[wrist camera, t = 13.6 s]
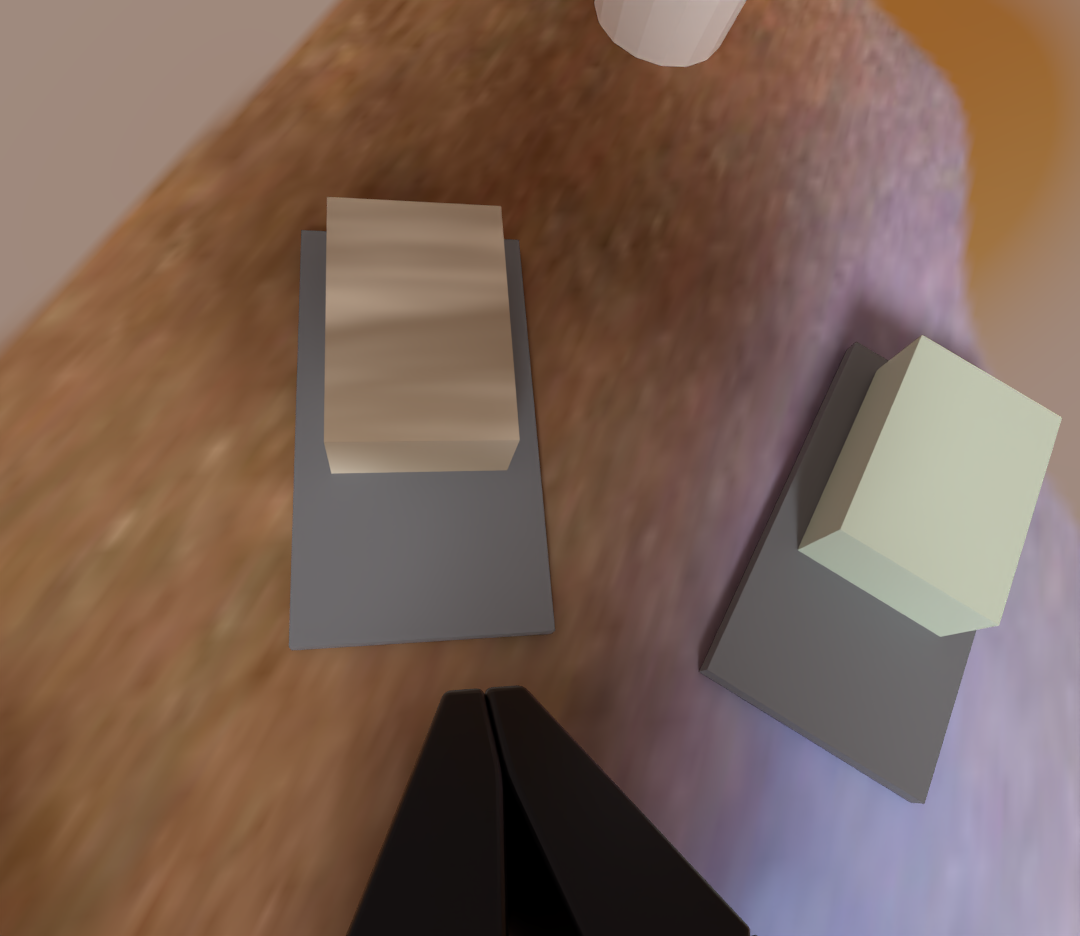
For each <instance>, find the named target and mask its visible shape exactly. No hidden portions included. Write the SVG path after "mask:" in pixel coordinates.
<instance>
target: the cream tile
mask: <svg viewBox="0 0 1080 936" xmlns="http://www.w3.org/2000/svg"><path fill="white" fill-rule="evenodd" d="M519 441H520V437H519V425H518V412H517V399H516V387H515V374H514V362H513V349H512V337H511V324H510V312H509V299H508V286H507V274H506V261H505V249H504V236H503V224H502V211H501V206H489V205H470V204H451V203H432V202H414V201H395V200H376V199H357V198H338V197H327V242H326V319H325V396H324V445H325V449H326V453H327V457H328V461H329V466H330V470H331V474H333V473H387V472H442V471H496V470H507V469H508V467H509V464H510V462H511V460H512V457H513V455H514V453H515V450H516V448H517V445H518V443H519Z"/></svg>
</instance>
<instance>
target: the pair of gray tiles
mask: <svg viewBox="0 0 1080 936" xmlns="http://www.w3.org/2000/svg"><path fill="white" fill-rule="evenodd" d="M326 242H327V231H307V230H301V262H300V295H299V328H298V362H297V395H296V428H295V462H294V495H293V528H292V562H291V595H290V628H289V648H290V649H291V650H304V649H320V648H336V647H352V646H367V645H383V644H399V643H415V642H431V641H446V640H462V639H478V638H494V637H510V636H525V635H541V634H551V633H553V632H554V631H555V625H554V614H553V603H552V592H551V581H550V571H549V560H548V549H547V538H546V528H545V517H544V506H543V495H542V484H541V474H540V463H539V452H538V441H537V430H536V420H535V409H534V398H533V387H532V376H531V366H530V355H529V344H528V333H527V322H526V312H525V301H524V290H523V279H522V268H521V258H520V247H519V240H510V239H504V249H505V261H506V274H507V286H508V299H509V312H510V324H511V337H512V349H513V362H514V374H515V387H516V399H517V412H518V425H519V437H520V441H519V443H518V445H517V448H516V450H515V453H514V455H513V457H512V460H511V462H510V464H509V467H508V469H507V470H496V471H442V472H387V473H333V474H331V470H330V466H329V461H328V457H327V453H326V449H325V445H324V396H325V319H326ZM887 362H888V360H886V359H885V358H883V357H881V356H879V355H878V354H876V353H874V352H873V351H871V350H869V349H868V348H866V347H864V346H863V345H861V344H859V343H858V342H855V343H854V344H853V345H852V346H851V347H850V348H849V349H847V351H846V353H845V355H844V357H843V359H842V361H841V364H840V366H839V368H838V370H837V372H836V375H835V377H834V379H833V381H832V383H831V385H830V388H829V390H828V392H827V394H826V396H825V398H824V401H823V403H822V405H821V407H820V409H819V412H818V414H817V416H816V418H815V420H814V422H813V425H812V427H811V429H810V431H809V433H808V436H807V438H806V440H805V442H804V444H803V446H802V449H801V451H800V453H799V455H798V457H797V459H796V462H795V464H794V466H793V468H792V470H791V473H790V475H789V477H788V479H787V481H786V483H785V486H784V488H783V490H782V492H781V494H780V497H779V499H778V501H777V503H776V505H775V507H774V510H773V512H772V514H771V516H770V518H769V520H768V523H767V525H766V527H765V529H764V531H763V534H762V536H761V538H760V540H759V542H758V544H757V547H756V549H755V551H754V553H753V555H752V558H751V560H750V562H749V564H748V566H747V568H746V571H745V573H744V575H743V577H742V579H741V581H740V584H739V586H738V588H737V590H736V592H735V595H734V597H733V599H732V601H731V603H730V605H729V608H728V610H727V612H726V614H725V616H724V619H723V621H722V623H721V625H720V627H719V629H718V632H717V634H716V636H715V638H714V640H713V643H712V645H711V647H710V649H709V651H708V653H707V656H706V658H705V660H704V662H703V664H702V666H701V669H700V671H699V672H700V673H702V674H704V675H705V676H707V677H708V678H710V679H712V680H713V681H715V682H716V683H718V684H720V685H721V686H723V687H725V688H726V689H728V690H729V691H731V692H733V693H734V694H736V695H737V696H739V697H741V698H742V699H744V700H746V701H747V702H749V703H750V704H752V705H754V706H755V707H757V708H759V709H760V710H762V711H763V712H765V713H767V714H768V715H770V716H771V717H773V718H775V719H776V720H778V721H780V722H781V723H783V724H784V725H786V726H788V727H789V728H791V729H792V730H794V731H796V732H797V733H799V734H801V735H802V736H804V737H805V738H807V739H809V740H810V741H812V742H814V743H815V744H817V745H818V746H820V747H822V748H823V749H825V750H826V751H828V752H830V753H831V754H833V755H835V756H836V757H838V758H839V759H841V760H843V761H844V762H846V763H848V764H849V765H851V766H852V767H854V768H856V769H857V770H859V771H860V772H862V773H864V774H865V775H867V776H869V777H870V778H872V779H873V780H875V781H877V782H878V783H880V784H881V785H883V786H885V787H886V788H888V789H890V790H891V791H893V792H894V793H896V794H898V795H899V796H901V797H903V798H904V799H906V800H907V801H909V802H911V803H922V804H924V803H925V800H926V797H927V793H928V790H929V787H930V783H931V780H932V777H933V773H934V770H935V767H936V763H937V760H938V757H939V753H940V750H941V746H942V743H943V740H944V736H945V733H946V730H947V726H948V723H949V720H950V716H951V713H952V710H953V706H954V703H955V700H956V696H957V693H958V690H959V686H960V683H961V679H962V676H963V673H964V669H965V666H966V663H967V659H968V656H969V653H970V649H971V646H972V643H973V639H974V636H975V633H976V630H973V631H968V632H963V633H957V634H952V635H947V636H942V637H940V636H938V635H936V634H935V633H933V632H932V631H930V630H928V629H927V628H925V627H923V626H922V625H920V624H918V623H917V622H915V621H913V620H912V619H910V618H908V617H907V616H905V615H904V614H902V613H900V612H899V611H897V610H895V609H894V608H892V607H890V606H889V605H887V604H885V603H884V602H882V601H881V600H879V599H877V598H876V597H874V596H872V595H871V594H869V593H867V592H866V591H864V590H862V589H861V588H859V587H857V586H856V585H854V584H853V583H851V582H849V581H848V580H846V579H844V578H843V577H841V576H839V575H838V574H836V573H834V572H833V571H831V570H830V569H828V568H826V567H825V566H823V565H821V564H820V563H818V562H816V561H815V560H813V559H811V558H810V557H808V556H806V555H805V554H803V553H802V552H800V551H798V548H799V546H800V543H801V541H802V539H803V537H804V534H805V532H806V530H807V527H808V525H809V523H810V521H811V518H812V516H813V514H814V512H815V509H816V507H817V505H818V503H819V500H820V498H821V496H822V493H823V491H824V489H825V487H826V484H827V482H828V480H829V478H830V475H831V473H832V471H833V469H834V466H835V464H836V462H837V459H838V457H839V455H840V453H841V450H842V448H843V446H844V444H845V441H846V439H847V437H848V435H849V432H850V430H851V428H852V426H853V423H854V421H855V419H856V416H857V414H858V412H859V410H860V407H861V405H862V403H863V401H864V398H865V396H866V394H867V392H868V389H869V387H870V385H871V382H872V380H873V378H874V376H875V373H876V371H877V370H878V369H879V368H880V367H882V366H883V365H884V364H885V363H887Z"/></svg>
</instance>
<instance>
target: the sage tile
mask: <svg viewBox="0 0 1080 936" xmlns="http://www.w3.org/2000/svg"><path fill="white" fill-rule="evenodd" d="M1061 419H1062V417H1060V416H1058V415H1057V414H1055V413H1053V412H1052V411H1050V410H1048V409H1046V408H1045V407H1043V406H1042V405H1040V404H1038V403H1036V402H1035V401H1033V400H1031V399H1030V398H1028V397H1026V396H1025V395H1023V394H1021V393H1019V392H1018V391H1016V390H1015V389H1013V388H1011V387H1009V386H1008V385H1006V384H1004V383H1003V382H1001V381H999V380H998V379H996V378H994V377H993V376H991V375H989V374H988V373H986V372H984V371H982V370H981V369H979V368H977V367H976V366H974V365H972V364H971V363H969V362H967V361H966V360H964V359H962V358H960V357H959V356H957V355H955V354H954V353H952V352H950V351H949V350H947V349H945V348H944V347H942V346H940V345H938V344H937V343H935V342H933V341H932V340H930V339H928V338H927V337H925V336H923V335H921V336H920V337H919V338H917V339H916V340H915V341H913V342H912V343H911V344H910V345H908V346H907V347H906V348H905V349H903V350H902V351H901V352H899V353H898V354H897V355H896V356H894V357H893V358H892V359H890V360H889V361H888V362H887V363H885V364H884V365H883V366H882V367H880V368H879V369H878V370H877V371H876V373H875V376H874V378H873V380H872V382H871V385H870V387H869V389H868V392H867V394H866V396H865V398H864V401H863V403H862V405H861V407H860V410H859V412H858V414H857V416H856V419H855V421H854V423H853V426H852V428H851V430H850V432H849V435H848V437H847V439H846V441H845V444H844V446H843V448H842V450H841V453H840V455H839V457H838V459H837V462H836V464H835V466H834V469H833V471H832V473H831V475H830V478H829V480H828V482H827V484H826V487H825V489H824V491H823V493H822V496H821V498H820V500H819V503H818V505H817V507H816V509H815V512H814V514H813V516H812V518H811V521H810V523H809V525H808V527H807V530H806V532H805V534H804V537H803V539H802V541H801V543H800V546H799V548H798V551H800V552H802V553H803V554H805V555H806V556H808V557H810V558H811V559H813V560H815V561H816V562H818V563H820V564H821V565H823V566H825V567H826V568H828V569H830V570H831V571H833V572H834V573H836V574H838V575H839V576H841V577H843V578H844V579H846V580H848V581H849V582H851V583H853V584H854V585H856V586H857V587H859V588H861V589H862V590H864V591H866V592H867V593H869V594H871V595H872V596H874V597H876V598H877V599H879V600H881V601H882V602H884V603H885V604H887V605H889V606H890V607H892V608H894V609H895V610H897V611H899V612H900V613H902V614H904V615H905V616H907V617H908V618H910V619H912V620H913V621H915V622H917V623H918V624H920V625H922V626H923V627H925V628H927V629H928V630H930V631H932V632H933V633H935V634H936V635H938V636H940V637H942V636H947V635H952V634H957V633H963V632H968V631H973V630H978V629H983V628H989V627H994V626H999V624H1000V620H1001V617H1002V614H1003V611H1004V607H1005V604H1006V601H1007V597H1008V594H1009V591H1010V587H1011V584H1012V581H1013V578H1014V574H1015V571H1016V568H1017V564H1018V561H1019V558H1020V554H1021V551H1022V548H1023V545H1024V541H1025V538H1026V535H1027V531H1028V528H1029V525H1030V521H1031V518H1032V515H1033V512H1034V508H1035V505H1036V502H1037V498H1038V495H1039V492H1040V488H1041V485H1042V482H1043V479H1044V475H1045V472H1046V469H1047V465H1048V462H1049V459H1050V455H1051V452H1052V449H1053V445H1054V442H1055V439H1056V435H1057V432H1058V429H1059V426H1060V422H1061Z"/></svg>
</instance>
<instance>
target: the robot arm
mask: <svg viewBox="0 0 1080 936" xmlns="http://www.w3.org/2000/svg"><path fill="white" fill-rule="evenodd" d="M346 936H750V928H749V927H748V925H747V924H746V923H745V922H744V921H743V920H742V919H741V918H740V917H739V916H738V915H737V914H736V913H735V912H734V910H733V909H732V908H731V907H730V906H729V905H728V904H727V903H726V902H725V901H724V900H723V899H722V898H721V897H720V895H719V894H718V893H717V892H716V891H715V890H714V889H713V888H712V887H711V886H710V885H709V884H708V883H707V882H706V880H705V879H704V878H703V877H702V876H701V875H700V874H699V873H698V872H697V871H696V870H695V869H694V868H693V867H692V865H691V864H690V863H689V862H688V861H687V860H686V859H685V858H684V857H683V856H682V855H681V854H680V853H679V852H678V850H677V849H676V848H675V847H674V846H673V845H672V844H671V843H670V842H669V841H668V840H667V839H666V838H665V837H664V836H663V834H662V833H661V832H660V831H659V830H658V829H657V828H656V827H655V826H654V825H653V824H652V823H651V822H650V821H649V819H648V818H647V817H646V816H645V815H644V814H643V813H642V812H641V811H640V810H639V809H638V808H637V807H636V806H635V804H634V803H633V802H632V801H631V800H630V799H629V798H628V797H627V796H626V795H625V794H624V793H623V792H622V791H621V789H620V788H619V787H618V786H617V785H616V784H615V783H614V782H613V781H612V780H611V779H610V778H609V777H608V776H607V774H606V773H605V772H604V771H603V770H602V769H601V768H600V767H599V766H598V765H597V764H596V763H595V762H594V761H593V760H592V758H591V757H590V756H589V755H588V754H587V753H586V752H585V751H584V750H583V749H582V748H581V747H580V746H579V745H578V743H577V742H576V741H575V740H574V739H573V738H572V737H571V736H570V735H569V734H568V733H567V732H566V731H565V730H564V728H563V727H562V726H561V725H560V724H559V723H558V722H557V721H556V720H555V719H554V718H553V717H552V716H551V715H550V713H549V712H548V711H547V710H546V709H545V708H544V707H543V706H542V705H541V704H540V703H539V702H538V701H537V700H536V698H535V697H534V696H533V695H532V694H531V693H530V692H529V691H528V690H527V689H526V688H524V687H522V686H505V687H492V688H489V689H487V690H486V692H485V694H484V693H483V691H482V690H480V689H465V690H452V691H447V692H446V693H445V694H444V695H443V696H442V698H441V701H440V703H439V706H438V708H437V711H436V713H435V716H434V718H433V721H432V723H431V726H430V728H429V731H428V733H427V736H426V738H425V741H424V743H423V745H422V748H421V750H420V753H419V755H418V758H417V760H416V763H415V765H414V768H413V770H412V773H411V775H410V778H409V780H408V783H407V785H406V788H405V790H404V793H403V795H402V798H401V800H400V803H399V805H398V808H397V810H396V813H395V815H394V818H393V820H392V823H391V825H390V828H389V830H388V833H387V835H386V838H385V840H384V842H383V845H382V847H381V850H380V852H379V855H378V857H377V860H376V862H375V865H374V867H373V870H372V872H371V875H370V877H369V880H368V882H367V885H366V887H365V890H364V892H363V895H362V897H361V900H360V902H359V905H358V907H357V910H356V912H355V915H354V917H353V920H352V922H351V925H350V927H349V930H348V932H347V935H346ZM753 936H757V935H753Z"/></svg>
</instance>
